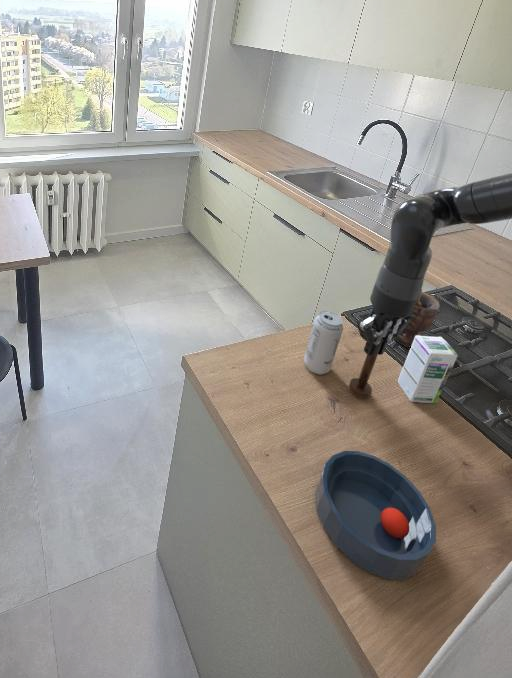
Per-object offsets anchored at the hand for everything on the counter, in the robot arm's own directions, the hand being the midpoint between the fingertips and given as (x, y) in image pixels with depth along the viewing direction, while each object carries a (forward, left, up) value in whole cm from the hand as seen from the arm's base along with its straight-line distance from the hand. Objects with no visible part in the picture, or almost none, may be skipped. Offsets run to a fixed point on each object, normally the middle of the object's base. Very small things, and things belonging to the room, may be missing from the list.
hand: (373, 352), depth 90 cm
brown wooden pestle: (0, 0, -11) cm, 11 cm away
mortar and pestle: (-25, -9, -12) cm, 29 cm away
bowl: (+20, +21, -12) cm, 31 cm away
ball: (+18, +23, -9) cm, 31 cm away
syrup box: (-13, +4, -12) cm, 18 cm away
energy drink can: (+4, -9, -12) cm, 16 cm away
